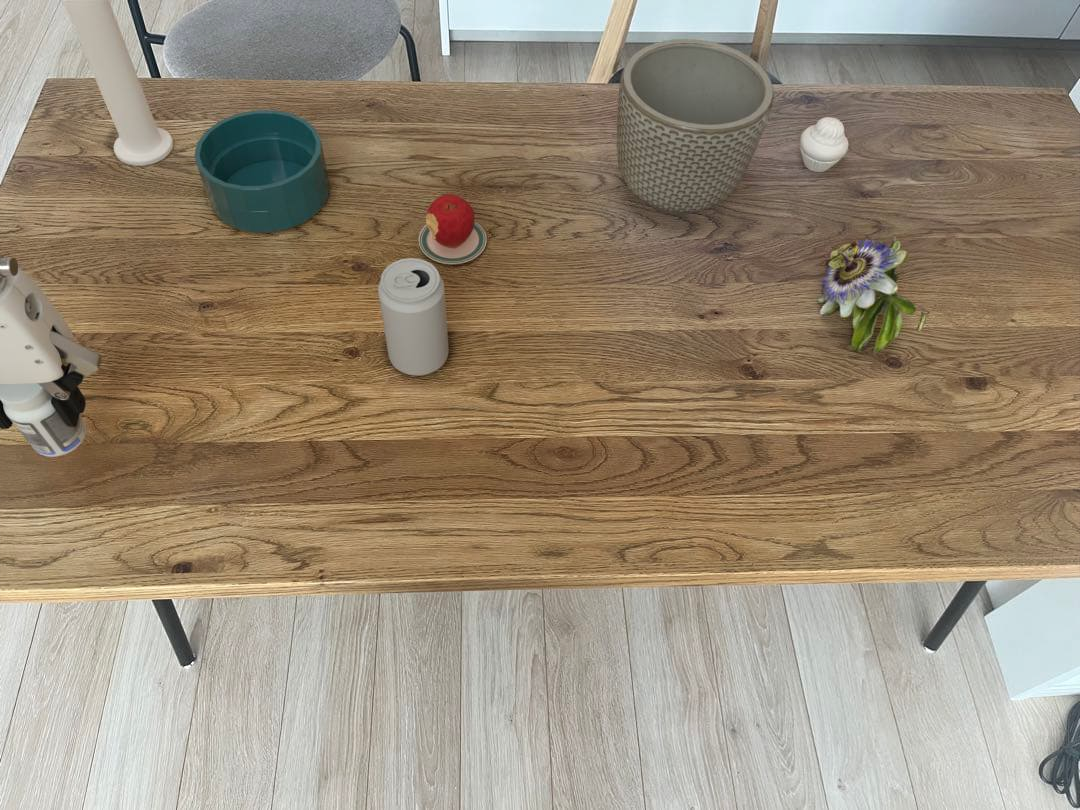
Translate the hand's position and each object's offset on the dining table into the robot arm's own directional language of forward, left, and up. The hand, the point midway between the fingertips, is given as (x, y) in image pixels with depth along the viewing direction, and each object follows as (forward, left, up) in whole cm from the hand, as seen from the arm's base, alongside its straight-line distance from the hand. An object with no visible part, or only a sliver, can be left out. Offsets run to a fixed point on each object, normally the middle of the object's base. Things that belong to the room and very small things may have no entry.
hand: (42, 413), depth 77 cm
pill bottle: (0, 0, -4) cm, 4 cm away
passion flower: (+82, +16, -8) cm, 84 cm away
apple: (+36, +29, -8) cm, 47 cm away
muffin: (+84, +42, -8) cm, 95 cm away
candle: (-2, +47, -8) cm, 48 cm away
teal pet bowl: (+14, +38, -8) cm, 41 cm away
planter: (+64, +37, -8) cm, 75 cm away
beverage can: (+32, +12, -8) cm, 36 cm away
